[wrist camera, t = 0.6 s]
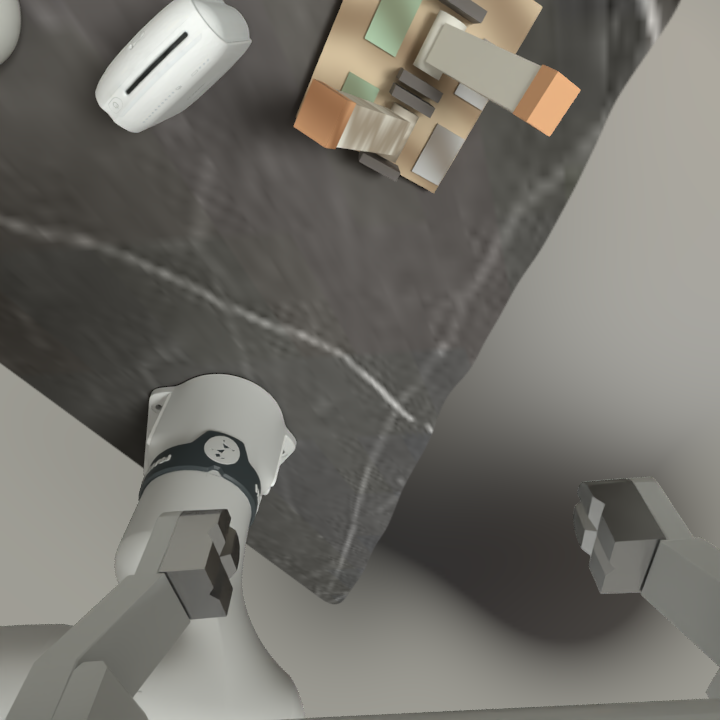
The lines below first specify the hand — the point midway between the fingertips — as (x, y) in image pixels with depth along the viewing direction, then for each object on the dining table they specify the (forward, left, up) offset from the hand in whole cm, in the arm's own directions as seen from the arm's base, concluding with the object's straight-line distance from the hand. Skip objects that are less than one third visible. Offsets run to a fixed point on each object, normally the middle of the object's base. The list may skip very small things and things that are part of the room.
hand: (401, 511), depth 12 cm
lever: (+10, 0, -39) cm, 41 cm away
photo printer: (0, +16, -42) cm, 45 cm away
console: (+8, 0, -41) cm, 42 cm away
